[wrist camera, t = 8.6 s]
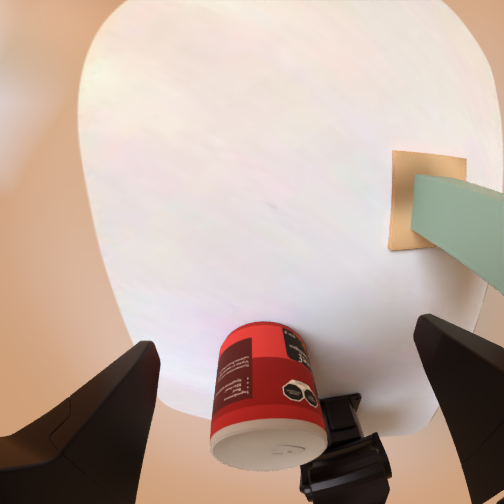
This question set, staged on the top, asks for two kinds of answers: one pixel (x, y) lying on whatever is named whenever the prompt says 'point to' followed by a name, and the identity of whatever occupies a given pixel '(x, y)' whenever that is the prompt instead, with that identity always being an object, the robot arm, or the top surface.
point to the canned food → (265, 401)
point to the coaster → (404, 192)
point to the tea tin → (462, 223)
